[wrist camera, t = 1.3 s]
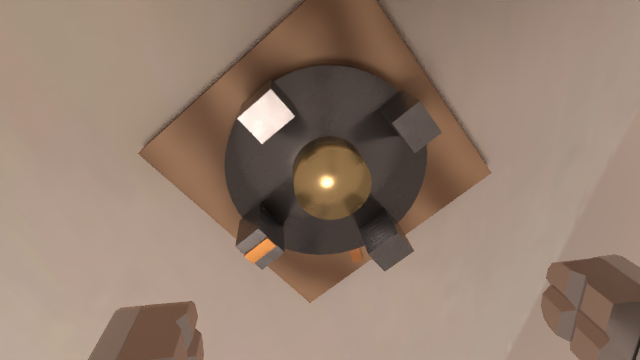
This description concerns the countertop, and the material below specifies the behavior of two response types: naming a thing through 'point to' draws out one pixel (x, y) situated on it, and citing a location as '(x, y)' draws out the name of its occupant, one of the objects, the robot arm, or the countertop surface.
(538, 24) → the countertop surface
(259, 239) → the lathe chuck
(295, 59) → the base plate
